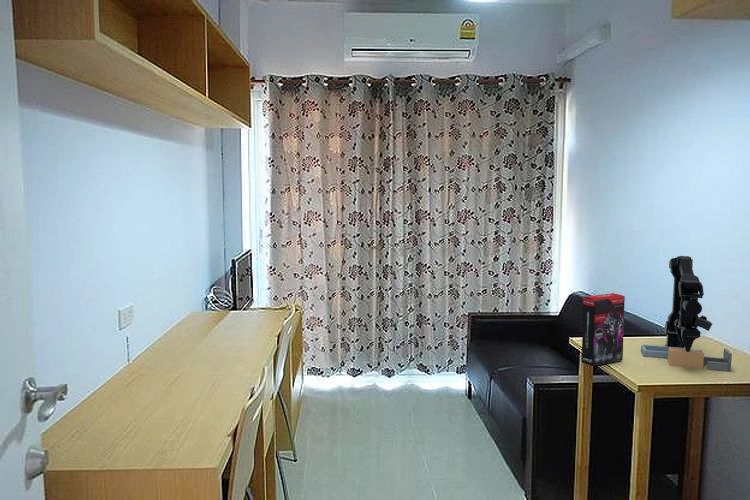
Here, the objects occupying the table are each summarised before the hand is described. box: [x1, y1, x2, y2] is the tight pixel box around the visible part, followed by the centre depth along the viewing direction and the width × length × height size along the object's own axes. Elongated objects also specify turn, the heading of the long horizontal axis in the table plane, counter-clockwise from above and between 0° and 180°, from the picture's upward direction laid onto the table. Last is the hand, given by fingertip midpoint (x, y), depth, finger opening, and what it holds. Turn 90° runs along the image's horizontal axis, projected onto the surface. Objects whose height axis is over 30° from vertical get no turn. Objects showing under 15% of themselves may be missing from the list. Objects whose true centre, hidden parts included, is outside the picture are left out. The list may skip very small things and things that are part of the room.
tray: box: [640, 344, 685, 360], centre depth 254 cm, size 17×10×2 cm, turn 73°
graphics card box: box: [581, 292, 626, 367], centre depth 242 cm, size 17×7×27 cm, turn 117°
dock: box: [703, 347, 733, 373], centre depth 237 cm, size 8×8×7 cm
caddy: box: [666, 348, 705, 369], centre depth 241 cm, size 12×5×6 cm, turn 73°
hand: (685, 348), depth 240 cm, fingers open, 9 cm apart
